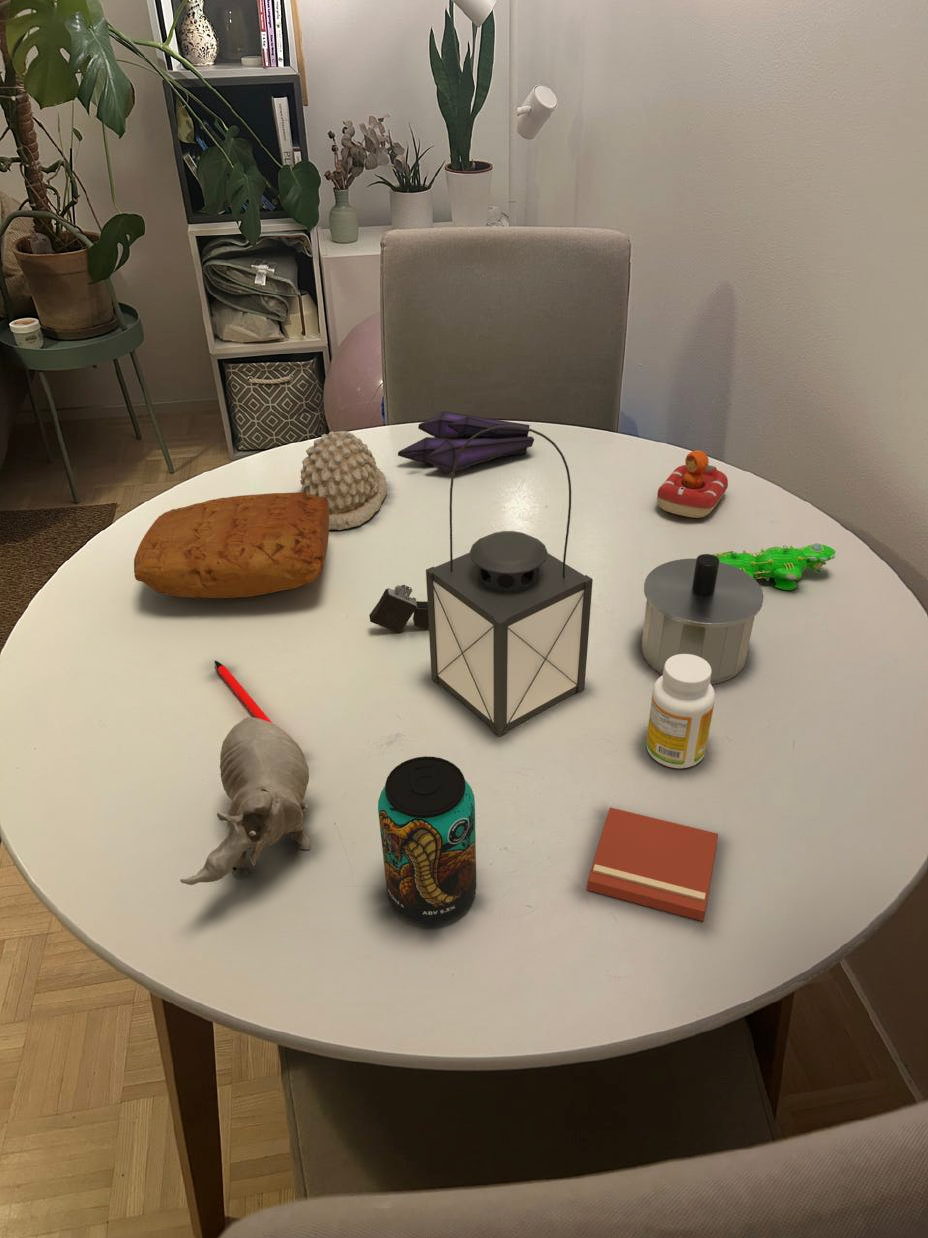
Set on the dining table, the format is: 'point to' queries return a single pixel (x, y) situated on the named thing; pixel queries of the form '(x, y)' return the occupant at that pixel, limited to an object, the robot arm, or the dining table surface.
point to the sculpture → (344, 478)
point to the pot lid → (703, 592)
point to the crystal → (457, 431)
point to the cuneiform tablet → (236, 546)
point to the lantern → (508, 624)
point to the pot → (695, 644)
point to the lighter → (399, 610)
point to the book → (654, 863)
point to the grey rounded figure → (257, 796)
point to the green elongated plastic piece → (780, 562)
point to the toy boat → (693, 487)
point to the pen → (241, 692)
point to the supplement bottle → (681, 712)
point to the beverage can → (428, 839)
